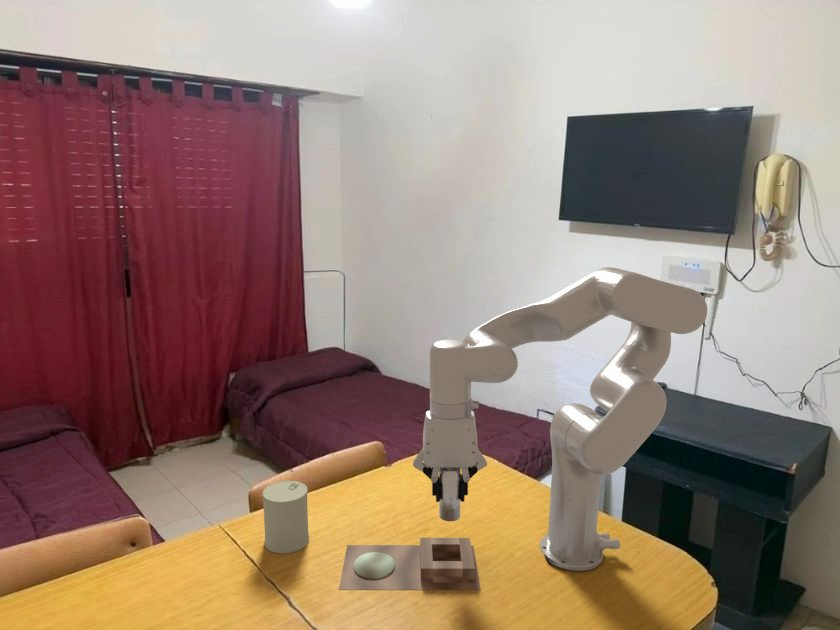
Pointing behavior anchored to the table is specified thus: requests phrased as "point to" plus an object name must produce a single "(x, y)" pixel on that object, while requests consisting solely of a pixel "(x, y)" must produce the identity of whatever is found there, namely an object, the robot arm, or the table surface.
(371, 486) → the table surface
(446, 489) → the peg
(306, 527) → the can
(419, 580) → the pocket board
